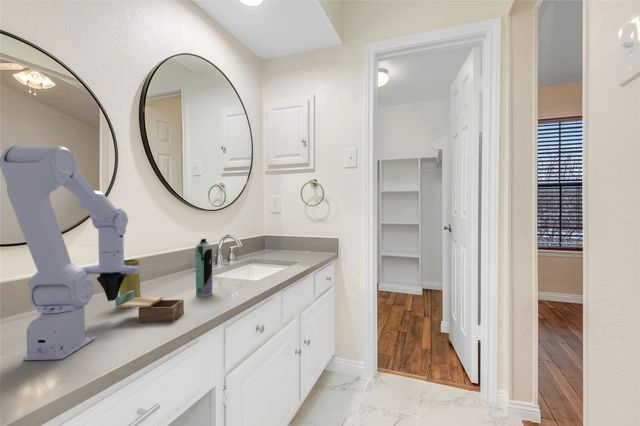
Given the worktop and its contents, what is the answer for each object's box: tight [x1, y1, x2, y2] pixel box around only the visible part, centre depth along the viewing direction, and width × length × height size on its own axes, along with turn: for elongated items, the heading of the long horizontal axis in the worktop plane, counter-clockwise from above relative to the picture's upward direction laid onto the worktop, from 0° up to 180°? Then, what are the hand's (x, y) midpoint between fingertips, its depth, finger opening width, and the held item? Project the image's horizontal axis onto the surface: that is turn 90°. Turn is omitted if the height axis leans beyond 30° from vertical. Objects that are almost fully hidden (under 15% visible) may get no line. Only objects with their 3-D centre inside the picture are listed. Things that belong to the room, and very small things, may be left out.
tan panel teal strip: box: [114, 291, 164, 309], centre depth 82 cm, size 7×9×3 cm
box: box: [137, 299, 185, 324], centre depth 82 cm, size 7×9×4 cm
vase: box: [119, 258, 142, 309], centre depth 94 cm, size 6×6×14 cm
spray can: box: [194, 238, 213, 298], centre depth 104 cm, size 6×6×20 cm
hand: (112, 299), depth 82 cm, fingers closed
